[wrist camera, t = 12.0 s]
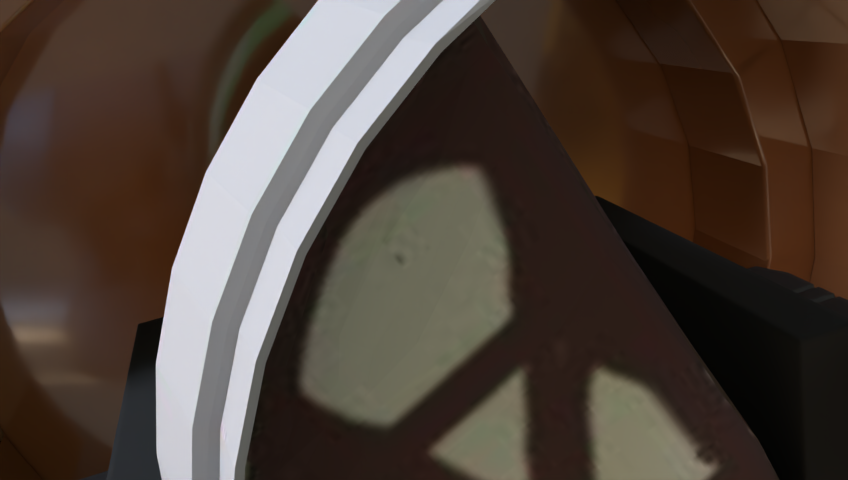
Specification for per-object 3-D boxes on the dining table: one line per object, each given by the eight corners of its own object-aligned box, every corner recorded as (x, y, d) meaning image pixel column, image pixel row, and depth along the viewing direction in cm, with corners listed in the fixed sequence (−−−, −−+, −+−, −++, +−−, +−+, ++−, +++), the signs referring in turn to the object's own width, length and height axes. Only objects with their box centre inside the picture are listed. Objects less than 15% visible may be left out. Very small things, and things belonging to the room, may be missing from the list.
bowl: (68, 739, 19) (14, 1042, 13) (-341, -112, 13) (-768, -201, 7) (756, 483, 23) (937, 639, 17) (708, -280, 16) (971, -427, 11)
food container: (5, 179, 14) (-284, 489, 5) (276, -30, 14) (478, -106, 5) (399, 568, 19) (626, 1087, 10) (591, 402, 19) (979, 748, 10)
